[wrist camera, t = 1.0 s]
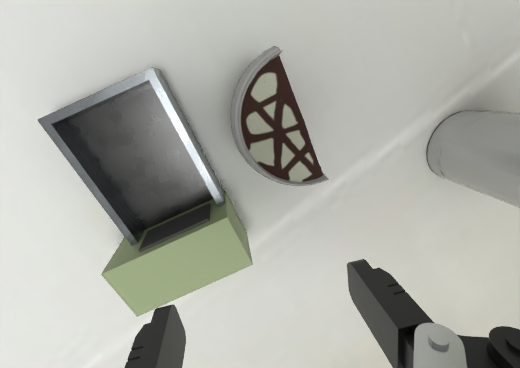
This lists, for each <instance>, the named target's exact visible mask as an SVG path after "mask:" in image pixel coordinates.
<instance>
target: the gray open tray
mask: <svg viewBox="0 0 520 368" xmlns="http://www.w3.org/2000/svg"><path fill="white" fill-rule="evenodd" d="M38 121H39V123H40V124H41V126H42V127H43V128H44V130H45V131H46V132H47V134H48V135H49V136H50V138H51V139H52V140H53V142H54V143H55V144H56V146H57V147H58V148H59V150H60V151H61V152H62V154H63V155H64V156H65V158H66V159H67V160H68V162H69V163H70V164H71V166H72V167H73V168H74V170H75V171H76V172H77V174H78V175H79V176H80V178H81V179H82V180H83V182H84V183H85V184H86V186H87V187H88V188H89V190H90V191H91V192H92V194H93V195H94V196H95V198H96V199H97V200H98V202H99V203H100V204H101V206H102V207H103V208H104V210H105V211H106V212H107V214H108V215H109V216H110V218H111V219H112V220H113V222H114V223H115V224H116V226H117V227H118V228H119V230H120V231H121V232H122V234H123V235H124V236H125V238H126V239H127V240H128V242H129V243H130V244H131V246H133V245H135V244H137V243H138V242H139V240H140V239H141V237H142V235H143V233H144V231H145V230H146V229H148V228H150V227H152V226H155V225H157V224H159V223H161V222H163V221H166V220H168V219H170V218H172V217H175V216H177V215H179V214H181V213H183V212H186V211H188V210H190V209H192V208H194V207H197V206H199V205H201V204H203V203H205V202H208V201H210V200H212V199H214V200H215V202H216V204H217V205H218V207H219V206H221V205H223V204H225V201H224V191H223V190H222V188H221V186H220V184H219V182H218V180H217V178H216V176H215V174H214V172H213V170H212V169H211V167H210V165H209V163H208V161H207V159H206V157H205V155H204V153H203V151H202V149H201V147H200V146H199V144H198V142H197V140H196V138H195V136H194V134H193V132H192V130H191V128H190V126H189V125H188V123H187V121H186V119H185V117H184V115H183V113H182V111H181V109H180V107H179V105H178V104H177V102H176V100H175V98H174V96H173V94H172V92H171V90H170V88H169V86H168V84H167V83H166V81H165V79H164V77H163V75H162V73H161V71H160V70H158V69H155V68H150V69H147V70H145V71H143V72H141V73H139V74H136V75H134V76H132V77H130V78H128V79H125V80H123V81H121V82H119V83H117V84H115V85H112V86H110V87H108V88H106V89H104V90H101V91H99V92H97V93H95V94H93V95H90V96H88V97H86V98H84V99H82V100H79V101H77V102H75V103H73V104H71V105H69V106H66V107H64V108H62V109H60V110H58V111H55V112H53V113H51V114H49V115H47V116H44V117H42V118H40V119H38Z"/></svg>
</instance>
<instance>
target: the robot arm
mask: <svg viewBox="0 0 520 368" xmlns="http://www.w3.org/2000/svg"><path fill="white" fill-rule="evenodd" d="M427 158H428V163H429V166H430V168H431V169H432V171H433V172H434V173H435V174H437V175H439V176H441V177H443V178H446V179H448V180H451V181H453V182H456V183H458V184H461V185H463V186H466V187H468V188H471V189H473V190H476V191H478V192H481V193H483V194H486V195H488V196H491V197H494V198H496V199H499V200H501V201H504V202H506V203H509V204H511V205H514V206H516V207H519V208H520V113H509V112H497V111H485V112H479V111H462V112H458V113H456V114H454V115H452V116H450V117H449V118H447V119H446V120H445V121H443V122H442V123H441V124H440V125H439V127H438V128H437V129H436V131H435V132H434V134H433V136H432V137H431V140H430V143H429V146H428V152H427ZM347 271H348V284H349V292H350V295H351V298H352V300H353V302H354V304H355V306H356V307H357V309H358V311H359V312H360V314H361V316H362V317H363V319H364V320H365V322H366V324H367V325H368V327H369V329H370V330H371V332H372V334H373V335H374V337H375V339H376V340H377V342H378V343H379V345H380V347H381V348H382V350H383V352H384V353H385V355H386V357H387V358H388V360H389V362H390V363H391V365H392V367H393V368H520V330H519V329H516V328H512V327H505V326H501V327H496V328H494V329H492V330H491V331H490V333H489V338H486V337H470V336H460V335H457V334H455V333H454V332H453V331H452V330H450V329H449V328H447V327H445V326H443V325H440V324H436V323H434V322H433V321H432V320H431V319H430V318H429V317H428V316H427V314H426V313H425V312H424V311H423V310H422V309H421V308H420V307H419V306H418V304H417V303H416V302H415V301H414V300H413V299H412V298H411V297H410V296H409V294H408V293H407V292H405V290H404V289H403V288H402V287H401V286H400V285H399V284H398V282H397V281H396V280H395V279H394V278H393V277H392V276H391V274H389V273H387V272H386V271H384V270H382V269H380V268H376V269H373V268H372V267H371V266H370V265H369V264H368V262H367V261H366V260H364V259H362V260H358V261H353V262H349V263H348V264H347ZM185 344H186V336H185V330H184V327H183V324H182V322H181V319H180V317H179V314H178V312H177V309H176V307H175V305H169V306H165V307H161V308H157V309H155V311H154V314H153V317H152V320H151V323H148V324H144V326H143V327H142V329H141V330H140V331H139V333H138V334H137V335H136V337H135V340H134V343H133V346H132V348H131V349H132V351H130V354H129V357H128V362H127V363H126V365H125V368H182V365H183V358H184V351H185Z"/></svg>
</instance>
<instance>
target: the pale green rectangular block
mask: <svg viewBox="0 0 520 368" xmlns="http://www.w3.org/2000/svg"><path fill="white" fill-rule="evenodd" d="M224 201H225V204H223V205H221V206H219V207H218V205H217V204H216V202H215V200H214V199H212V200H210V201H208V202H205V203H203V204H201V205H199V206H197V207H194V208H192V209H190V210H188V211H186V212H183V213H181V214H179V215H177V216H175V217H172V218H170V219H168V220H166V221H163V222H161V223H159V224H157V225H155V226H152V227H150V228H148V229H146V230H145V231H144V233H143V235H142V237H141V239H140V240H139V242H138V243H137V244H135V245H133V246H131V244H130V243H129V242H128V240H127V239H126V238H124V239H123V241H122V242H121V244H120V245H119V247H118V249H117V250H116V252H115V253H114V255H113V257H112V258H111V260H110V261H109V263H108V264H107V266H106V268H105V269H104V271H103V272H102V274H101V275H102V276H103V277H104V278H105V279H106V281H107V282H108V283H109V284H110V285H111V286H112V288H113V289H114V290H115V291H116V292H117V293H118V295H119V296H120V297H121V298H122V299H123V301H124V302H125V303H126V304H127V305H128V306H129V308H130V309H131V310H132V311H133V312H134V313H135V315H136V316H140V315H142V314H144V313H146V312H148V311H151V310H153V309H155V308H157V307H160V306H162V305H164V304H166V303H168V302H171V301H173V300H175V299H177V298H180V297H182V296H184V295H186V294H188V293H191V292H193V291H195V290H197V289H199V288H202V287H204V286H206V285H208V284H211V283H213V282H215V281H217V280H219V279H222V278H224V277H226V276H228V275H230V274H233V273H235V272H237V271H239V270H242V269H244V268H246V267H248V266H250V265H253V263H252V258H251V253H250V248H249V243H248V238H247V232H246V230H245V228H244V226H243V225H242V223H241V221H240V219H239V217H238V215H237V213H236V211H235V209H234V207H233V205H232V203H231V201H230V200H229V198H228V196H227V194H226V192H224Z"/></svg>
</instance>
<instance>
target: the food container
mask: <svg viewBox="0 0 520 368" xmlns="http://www.w3.org/2000/svg"><path fill="white" fill-rule="evenodd" d="M282 51H283V50H280V49H279V47H276V46H273V47H271V48H270V49H268V50H267V51H265V52H263V53H262V54H261V55H260V56H259V57H257V58H256V59H255V60H254V61H253V62H252V63H251V65H250V66H249V67H248V68H247V69H246V71H245V72H244V74H243V75H242V77H241V79H240V80H239V83H238V85H237V87H236V90H235V92H234V96H233V100H232V106H231V128H232V133H233V137H234V140H235V143H236V145H237V148H238V150H239V151H240V153H241V155H242V156H243V158H244V159H245V160H246V161H247V163H248V164H249V165H250V166H251V167H252V168H253V169H255V170H256V171H257V172H258V173H260V174H262V175H263V176H265V177H267V178H269V179H271V180H273V181H276V182H278V183H281V184H286V185H292V186H305V185H313V184H317V183H321V182H324V181H326V180H329V179H328V178H327V177H326V176H325V175H324V174H323V173H322V170H321V167H320V165H319V163H318V160H317V158H316V155H315V152H314V149H313V146H312V143H311V141H310V138H309V135H308V131H307V128H306V125H305V122H304V119H303V117H302V115H301V112H300V110H299V107H298V105H297V102H296V99H295V97H294V94H293V91H292V89H291V86H290V83H289V81H288V78H287V75H286V72H285V70H284V67H283V64H282V62H281V59H280V56H279V55H280V53H281V52H282Z"/></svg>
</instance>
